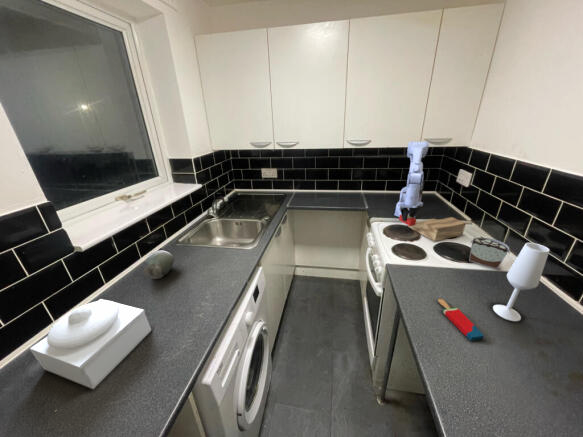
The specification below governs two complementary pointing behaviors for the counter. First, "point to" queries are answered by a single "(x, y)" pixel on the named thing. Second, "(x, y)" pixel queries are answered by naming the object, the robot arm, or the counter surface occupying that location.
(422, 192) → the coffee box
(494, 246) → the food container
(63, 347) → the butter dish
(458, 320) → the popsicle
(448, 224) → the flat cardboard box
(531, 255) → the white wine glass
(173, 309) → the counter surface
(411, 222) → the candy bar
